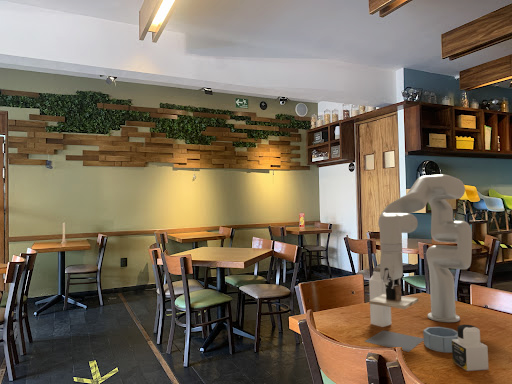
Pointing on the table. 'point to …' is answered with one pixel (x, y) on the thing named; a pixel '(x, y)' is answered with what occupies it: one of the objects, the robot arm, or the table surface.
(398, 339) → the mat
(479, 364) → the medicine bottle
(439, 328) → the bowl
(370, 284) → the milk
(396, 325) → the table surface
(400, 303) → the lid
